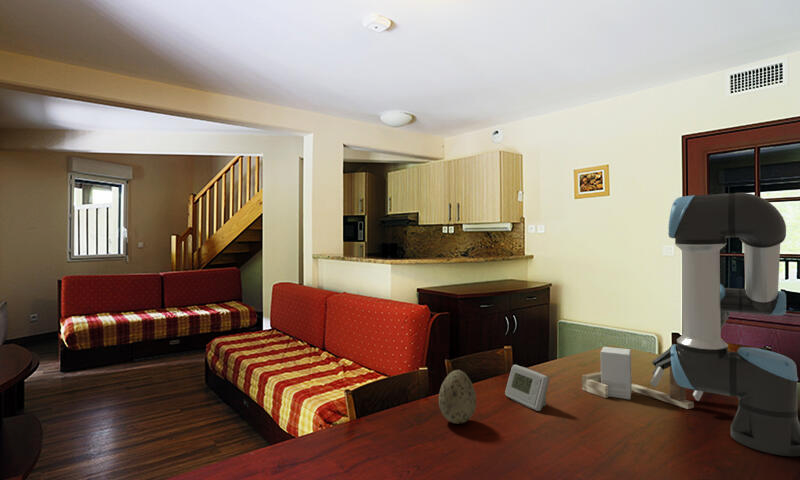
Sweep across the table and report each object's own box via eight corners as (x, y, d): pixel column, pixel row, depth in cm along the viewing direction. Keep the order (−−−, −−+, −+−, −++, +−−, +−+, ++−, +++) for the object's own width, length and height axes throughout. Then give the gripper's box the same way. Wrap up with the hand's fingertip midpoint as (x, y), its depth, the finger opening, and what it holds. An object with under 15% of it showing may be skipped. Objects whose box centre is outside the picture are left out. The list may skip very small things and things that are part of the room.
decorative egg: (482, 420, 127) (482, 368, 127) (466, 433, 118) (466, 378, 118) (449, 412, 133) (449, 363, 133) (431, 424, 124) (431, 371, 124)
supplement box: (632, 392, 150) (631, 348, 150) (630, 400, 142) (630, 354, 143) (603, 387, 155) (602, 345, 155) (600, 395, 147) (600, 351, 147)
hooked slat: (693, 407, 135) (693, 370, 136) (658, 417, 128) (657, 378, 128) (615, 382, 160) (615, 350, 160) (581, 389, 152) (581, 356, 152)
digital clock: (502, 396, 147) (502, 364, 147) (526, 393, 149) (526, 362, 149) (528, 414, 131) (528, 379, 131) (554, 411, 134) (554, 376, 134)
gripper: (748, 354, 134) (721, 411, 127) (668, 338, 156) (641, 386, 150) (739, 338, 132) (710, 396, 125) (659, 325, 154) (631, 373, 147)
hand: (673, 391), depth 137 cm, fingers open, 13 cm apart
